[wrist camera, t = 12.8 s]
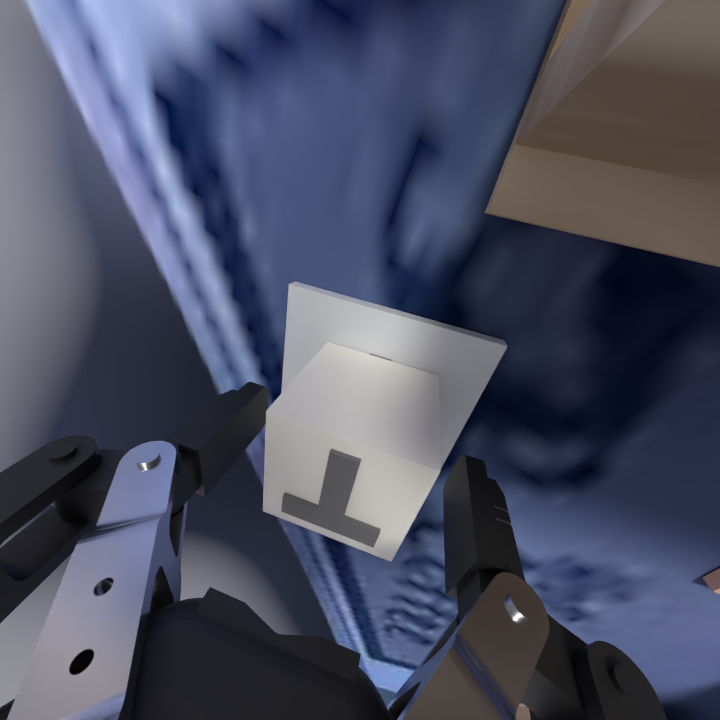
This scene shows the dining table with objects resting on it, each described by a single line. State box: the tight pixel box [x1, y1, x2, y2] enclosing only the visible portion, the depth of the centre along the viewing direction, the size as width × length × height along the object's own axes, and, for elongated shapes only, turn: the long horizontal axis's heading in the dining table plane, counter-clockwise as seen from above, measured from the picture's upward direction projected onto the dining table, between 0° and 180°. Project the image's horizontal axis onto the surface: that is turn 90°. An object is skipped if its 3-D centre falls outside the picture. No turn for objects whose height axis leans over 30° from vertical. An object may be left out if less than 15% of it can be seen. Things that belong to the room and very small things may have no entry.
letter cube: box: [263, 342, 441, 562], centre depth 11 cm, size 5×5×5 cm
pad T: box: [281, 281, 508, 468], centre depth 13 cm, size 9×9×1 cm
